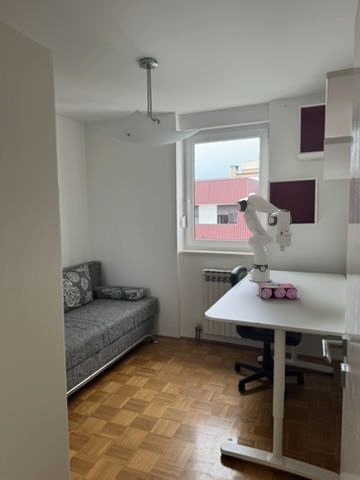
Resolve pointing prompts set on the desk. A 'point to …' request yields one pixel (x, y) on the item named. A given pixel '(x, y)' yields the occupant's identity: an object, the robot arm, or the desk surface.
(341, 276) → the desk surface
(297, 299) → the mat
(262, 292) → the gum box
